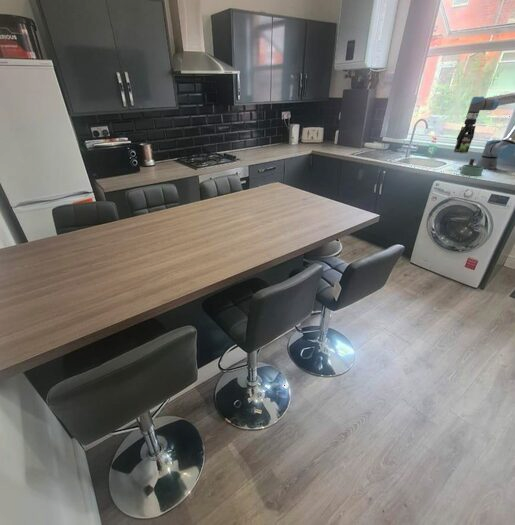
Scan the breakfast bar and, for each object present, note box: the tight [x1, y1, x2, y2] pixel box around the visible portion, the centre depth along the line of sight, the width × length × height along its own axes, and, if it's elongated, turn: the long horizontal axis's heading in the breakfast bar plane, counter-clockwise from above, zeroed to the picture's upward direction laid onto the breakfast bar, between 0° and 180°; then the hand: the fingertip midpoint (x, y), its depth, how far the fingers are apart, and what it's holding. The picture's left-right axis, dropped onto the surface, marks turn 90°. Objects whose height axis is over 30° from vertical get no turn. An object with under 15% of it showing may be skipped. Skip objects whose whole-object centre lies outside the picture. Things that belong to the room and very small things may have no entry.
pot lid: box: [458, 158, 476, 170], centre depth 252 cm, size 16×16×9 cm
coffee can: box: [453, 133, 475, 155], centre depth 241 cm, size 10×10×14 cm
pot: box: [459, 164, 485, 177], centre depth 240 cm, size 15×15×6 cm
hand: (461, 148), depth 243 cm, fingers closed on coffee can, 10 cm apart
